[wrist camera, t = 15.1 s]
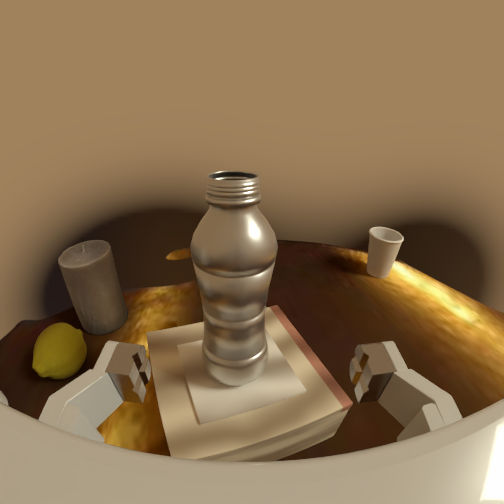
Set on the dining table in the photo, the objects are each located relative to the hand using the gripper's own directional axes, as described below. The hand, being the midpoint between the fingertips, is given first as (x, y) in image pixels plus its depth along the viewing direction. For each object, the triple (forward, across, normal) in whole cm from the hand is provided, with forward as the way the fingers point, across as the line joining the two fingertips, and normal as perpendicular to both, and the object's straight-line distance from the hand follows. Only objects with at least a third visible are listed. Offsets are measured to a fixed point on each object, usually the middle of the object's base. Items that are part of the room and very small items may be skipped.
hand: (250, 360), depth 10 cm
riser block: (+13, +1, +24) cm, 27 cm away
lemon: (+15, +28, +24) cm, 40 cm away
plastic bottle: (+12, +1, +16) cm, 20 cm away
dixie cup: (+46, -31, +24) cm, 61 cm away
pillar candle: (+29, +27, +24) cm, 46 cm away
